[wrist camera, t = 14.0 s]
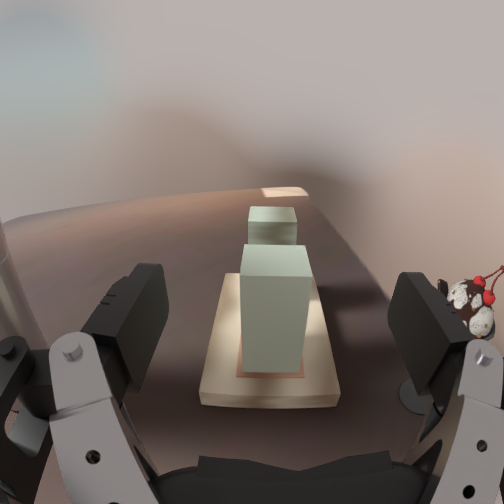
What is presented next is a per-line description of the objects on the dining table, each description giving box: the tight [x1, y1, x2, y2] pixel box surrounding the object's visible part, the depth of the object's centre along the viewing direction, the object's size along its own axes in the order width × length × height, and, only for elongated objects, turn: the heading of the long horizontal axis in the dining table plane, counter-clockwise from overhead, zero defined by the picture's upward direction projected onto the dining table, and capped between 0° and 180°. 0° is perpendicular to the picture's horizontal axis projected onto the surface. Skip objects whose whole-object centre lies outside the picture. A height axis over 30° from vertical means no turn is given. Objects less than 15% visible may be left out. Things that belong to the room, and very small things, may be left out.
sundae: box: [399, 265, 504, 415], centre depth 19 cm, size 7×7×15 cm
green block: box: [239, 244, 313, 373], centre depth 25 cm, size 5×5×10 cm
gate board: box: [199, 207, 341, 408], centre depth 30 cm, size 12×20×12 cm, turn 177°
